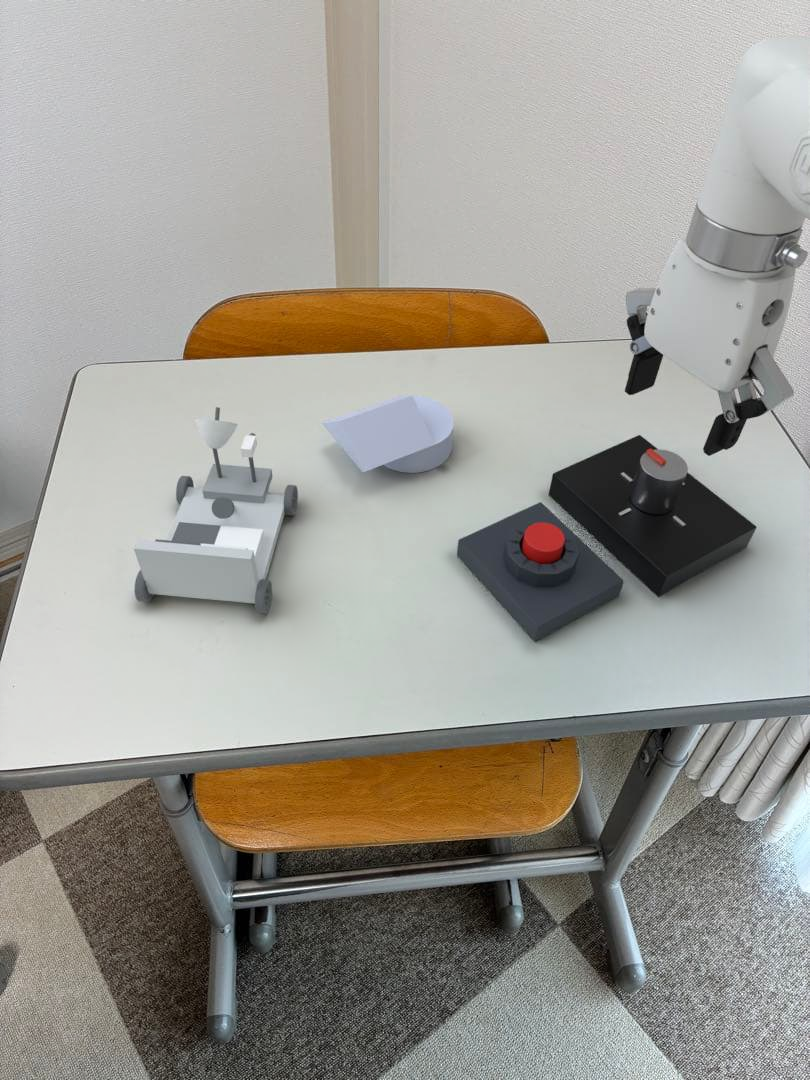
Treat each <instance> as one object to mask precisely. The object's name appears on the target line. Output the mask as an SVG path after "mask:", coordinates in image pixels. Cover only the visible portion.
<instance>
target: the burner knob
mask: <svg viewBox="0 0 810 1080" xmlns="http://www.w3.org/2000/svg"><path fill="white" fill-rule="evenodd" d="M688 470H689V469H688V463H687V462H686V460H685V459H684V458H683V457H682V456H680V455H679V454H677V453H675V452H673V451H670V450H667V449H659V448H657V450H652V449H651V448H650V449H648V450H647V451H646V453H645V454H643V455H642V457H641V459H640V462H639V466H638V469H637V472H636V475H635V478H634V481H633V484H632V488H631V491H630V499H631V502H632V503H633V504H634V505H635V506H636V507H637V508H638V509H640V510H642V511H644V512H646V513H650V514H665V513H667V512H669V511H671V510H672V509H673V508H674V506H675V503H676V501H677V498H678V495H679V493H680V490H681V487H682V485H683V482H684V479H685V477H686V474H687V472H689V471H688Z"/></svg>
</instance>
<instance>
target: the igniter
mask: <svg viewBox="0 0 810 1080" xmlns="http://www.w3.org/2000/svg"><path fill="white" fill-rule="evenodd" d="M535 523H549V524H552V525H554V526H556V527H558V528H559V529H560V530H561V531H562V532H563V534H564V537H565V542H564V546H563V550H562V554H561V556H560V558H559V559H558V560H557V561H555V562H553V563H550V564H539V563H536V562H533V561H531V560H529V559H528V558H527V557H526V556H525V554H524V553H523V550H522V545H523V539H524V534H525V531H526V529H527V528H528V527H529V526H531V525H533V524H535ZM456 556H457V557H458V558H459V559H460V560H461V562H462V563H463V564H464V565H465V566H466V567H467V568H468V569H469V570H470V571H471V573H472V574H473V575H474V576H475V578H477V579H478V581H479V582H480V583H481V584H482V585H483V586H484V587H485V588H486V590H487V591H488V592H489V593H490V594H491V595H492V596H493V597H494V598H495V599H496V601H497V602H498V603H499V604H500V605H501V606H502V607H503V608H504V609H505V611H506V612H507V613H508V614H509V615H510V616H511V617H512V619H513V620H514V621H515V622H516V623H517V624H518V625H519V627H521V629H522V630H523V631H524V632H525V633H526V634H527V635H528V636H529V637H530V639H531V640H532V641H533V642H538V641H539V640H541V639H543V638H544V637H547V636H548V635H550V634H552V633H554V632H555V631H557V630H559V629H561V628H563V627H565V626H566V625H568V624H570V623H572V622H574V621H576V620H578V619H580V618H581V617H584V616H585V615H587V614H589V613H590V612H593V611H594V610H596V609H598V608H599V607H602V606H603V605H605V604H607V603H608V602H610V601H613V600H614V599H616V598H618V597H619V596H620V594H621V591H622V589H623V586H624V583H625V580H623V578H622V577H621V576H620V575H618V573H617V572H615V571H614V569H612V568H611V567H610V566H609V565H608V564H607V563H606V562H605V561H604V560H603V559H602V558H601V557H600V556H599V555H597V554H596V553H595V552H594V551H593V550H592V549H591V548H590V547H589V546H588V545H587V544H586V543H585V542H584V541H583V540H582V539H580V538H579V537H578V536H577V535H576V534H575V533H574V531H572V530H571V529H570V528H569V527H568V526H567V525H566V524H565V523H563V521H561V519H560V518H559V517H557V516H556V514H554V513H553V512H552V511H551V510H550V509H549V508H548V507H547V506H546V505H545V504H544V503H543V502H541V501H539V502H537V503H535V504H532V505H530V506H529V507H526V508H525V509H522V510H519V511H518V512H515V513H514V514H511V515H509V516H507V517H505V518H503V519H501V520H498V521H496V522H494V523H492V524H490V525H488V526H485V527H483V528H481V529H479V530H477V531H474V532H473V533H470V534H468V535H465V536H464V537H461V538H459V539H458V540H457V550H456Z"/></svg>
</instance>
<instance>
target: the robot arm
mask: <svg viewBox="0 0 810 1080" xmlns="http://www.w3.org/2000/svg"><path fill="white" fill-rule="evenodd" d="M806 219H807V220H810V37H808V36H799V35H797V36H796V35H784V36H783V35H782V36H775V37H769V38H764V39H763V40H760V41H758V42H756V43H755V44H753V45H752V46H751V47H750V48H748V50H746V52H745V53H744V55H743V56H742V58H741V59H740V61H739V63H738V66H737V69H736V71H735V74H734V78H733V81H732V84H731V88H730V91H729V95H728V97H727V101H726V104H725V108H724V111H723V113H722V116H721V120H720V124H719V128H718V131H717V135H716V137H715V141H714V144H713V148H712V151H711V155H710V157H709V161H708V163H707V167H706V171H705V174H704V177H703V180H702V184H701V188H700V191H699V194H698V198H697V201H696V204H695V207H694V210H693V213H692V217H691V219H690V223H689V226H688V229H687V231H685V232H684V233H683V234H681V236H680V238H679V239H678V241H677V243H676V244H675V246H674V247H673V249H672V251H671V254H670V255H669V258H668V259H667V261H666V263H665V265H664V268H663V270H662V273H661V275H660V277H659V280H658V282H657V284H656V287H640V288H636V289H633V290H629V291H627V292H626V294H625V304H626V313H627V315H628V317H627V319H626V326H627V329H628V332H629V335H630V338H631V342H630V344H629V350H630V352H631V353H632V355H633V356H632V357H633V358H632V361H631V364H630V366H629V367H630V368H629V372H628V375H627V381H626V384H625V388H624V393H626V394H627V395H628V396H633V395H636V394H638V393H641V392H643V391H646V390H648V389H650V388H652V387H654V385H655V383H656V380H657V377H658V374H659V372H660V367H661V364H662V361H663V358H664V357H666V358H667V359H668V360H670V361H671V362H673V363H674V364H675V365H677V366H678V367H680V368H681V369H682V370H684V371H685V372H686V373H688V374H690V375H691V376H693V377H694V378H695V379H697V380H698V381H700V382H701V383H702V384H704V385H706V386H707V387H709V388H710V389H712V390H714V391H717V394H718V398H719V402H720V406H721V410H722V413H720V414H718V415H717V416H716V417H715V418H714V420H713V423H712V426H711V427H710V430H709V433H708V435H707V438H706V440H705V442H704V445H703V448H702V450H703V453H704V454H705V455H706V456H708V457H710V456H713V455H715V454H717V453H719V452H721V451H723V450H724V451H727V450H729V449H731V448H733V447H734V446H735V445H736V444H737V443H738V441H739V439H740V436H741V434H742V431H743V430H744V427H745V426H746V422H747V420H748V419H749V420H750V419H753V418H759V417H761V416H763V415H765V414H768V413H769V412H771V411H773V410H775V408H777V407H779V406H781V405H782V404H784V403H785V402H787V401H788V400H789V399H791V398H792V397H793V396H794V394H795V392H794V388H793V386H791V383H790V382H789V381H788V379H787V378H786V376H785V374H784V373H783V371H782V370H781V368H780V367H779V365H778V364H777V362H776V360H775V359H774V356H775V353H776V350H777V348H778V345H779V341H780V339H781V336H782V333H783V330H784V328H785V327H784V326H785V323H786V320H787V316H788V314H789V310H790V305H791V301H792V296H793V290H794V285H795V277H796V270H797V269H799V268H800V267H801V266H802V265H804V263H805V261H806V260H807V258H808V251H807V250H805V249H803V248H802V247H801V244H799V241H800V238H801V236H802V234H803V231H804V229H803V226H804V223H805V220H806ZM647 311H648V312H647ZM754 380H755V381H757V382H759V384H760V385H761V387H762V389H763V395H761V396H760V397H758V395H757V393H756V392H757V391H756V389H755V388H756V387H755V383H754ZM735 390H737V391H738V395H739V399H740V400H739V401H740V402H738V399H737V393H736V391H735Z"/></svg>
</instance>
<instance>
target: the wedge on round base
mask: <svg viewBox="0 0 810 1080" xmlns="http://www.w3.org/2000/svg"><path fill="white" fill-rule="evenodd" d="M321 424H322V426H323V427H324V428H325V429H326V430H327V431H328V433H329V434H330V435H331V436H332V438H334V440H335V441H336V442H337V444H338V445H339V446H340V447H341V448H342V449H343V450H344V452H345V453H346V454H347V455H348V457H349V458H350V459H351V460H352V461H353V462H354V464H355V465H356V466H357V468H359V470H360V471H361V472H362V473H366V472H368V471H370V470H373V469H376V468H378V467H381V466H384V467H386V468H388V469H390V470H392V471H396V472H399V473H400V472H401V473H406V474H407V473H409V474H413V473H415V474H416V473H417V474H418V473H424V472H428V471H431V470H434V469H436V468H438V467H440V466H441V465H443V464H445V462H446V461H447V460H448V459H449V457H450V455H451V453H452V450H453V449H452V448H453V437H454V426H455V420H454V416H453V414H452V412H451V411H450V410H449V408H447V407H446V406H445V405H444V404H442V403H441V402H440V401H437V400H435V399H433V398H430V397H426V396H422V395H414V394H413V395H400V396H395V397H391V398H388V399H385V400H382V401H380V402H376V403H374V404H371V405H368V406H365V407H363V408H360V409H357V410H354V411H351V412H348V413H345V414H342V415H340V416H337V417H334V418H331V419H328V420H325V421H322V422H321Z"/></svg>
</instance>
